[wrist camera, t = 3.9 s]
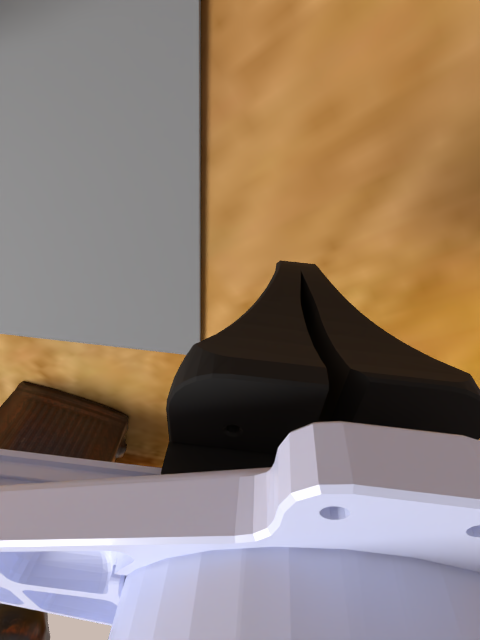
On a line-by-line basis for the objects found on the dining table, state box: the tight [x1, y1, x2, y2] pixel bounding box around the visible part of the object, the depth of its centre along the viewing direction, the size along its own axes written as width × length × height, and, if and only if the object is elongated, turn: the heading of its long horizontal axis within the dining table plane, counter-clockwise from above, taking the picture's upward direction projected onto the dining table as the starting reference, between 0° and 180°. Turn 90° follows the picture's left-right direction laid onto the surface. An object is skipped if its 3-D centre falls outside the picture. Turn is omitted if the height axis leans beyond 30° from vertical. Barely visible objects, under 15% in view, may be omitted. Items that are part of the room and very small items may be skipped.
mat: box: [0, 0, 201, 355], centre depth 19 cm, size 16×24×1 cm, turn 176°
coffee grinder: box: [0, 382, 128, 640], centre depth 26 cm, size 16×11×18 cm
